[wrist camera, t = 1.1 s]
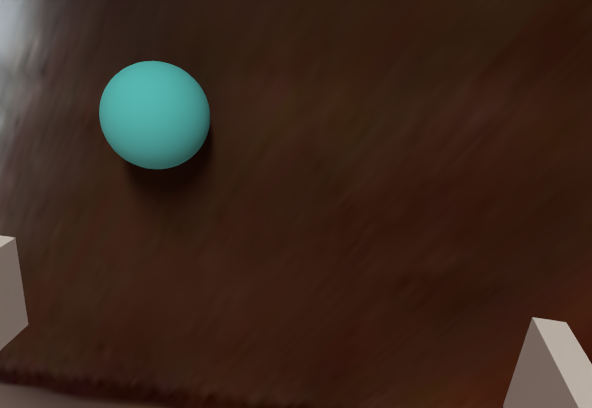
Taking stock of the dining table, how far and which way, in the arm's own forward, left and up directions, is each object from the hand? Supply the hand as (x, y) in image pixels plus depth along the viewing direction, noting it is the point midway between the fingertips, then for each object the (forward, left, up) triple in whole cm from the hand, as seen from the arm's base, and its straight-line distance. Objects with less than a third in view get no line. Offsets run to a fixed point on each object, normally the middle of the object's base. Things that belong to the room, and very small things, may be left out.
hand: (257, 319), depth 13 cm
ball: (+10, -1, -16) cm, 18 cm away
